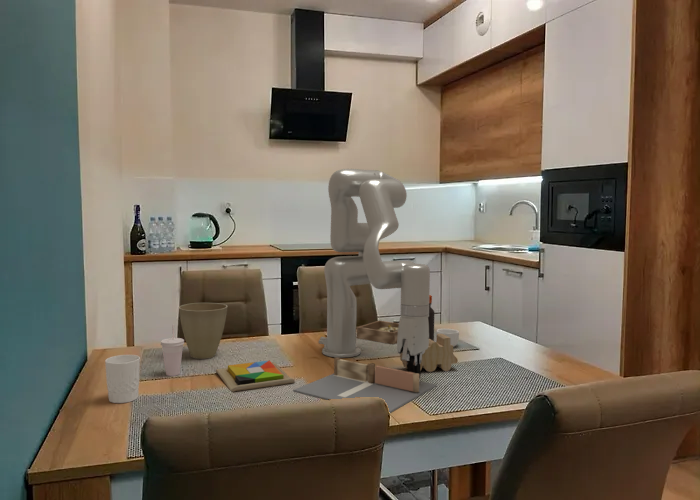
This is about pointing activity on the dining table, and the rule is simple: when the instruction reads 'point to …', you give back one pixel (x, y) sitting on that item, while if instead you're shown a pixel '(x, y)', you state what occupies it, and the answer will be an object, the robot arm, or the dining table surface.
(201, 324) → the plant pot
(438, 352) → the toy train
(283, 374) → the wooden puzzle
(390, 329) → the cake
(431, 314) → the bottle
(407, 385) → the hinged fence panel
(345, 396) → the card
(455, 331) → the teacup
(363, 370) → the fixed fence panel
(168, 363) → the smoothie
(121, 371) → the white cup
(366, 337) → the tray
